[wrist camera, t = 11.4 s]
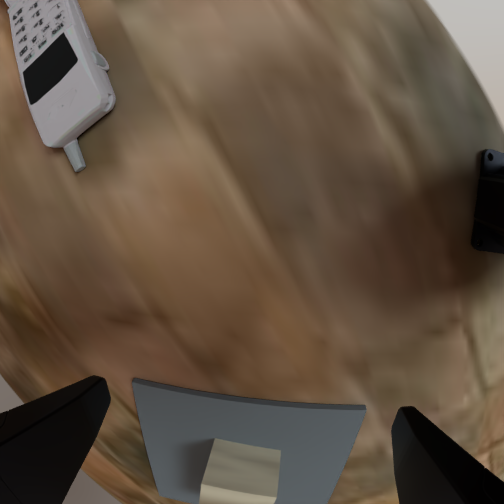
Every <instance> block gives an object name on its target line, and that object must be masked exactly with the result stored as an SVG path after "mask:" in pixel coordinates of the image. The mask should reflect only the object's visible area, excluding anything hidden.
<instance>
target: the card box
mask: <svg viewBox="0 0 504 504" xmlns="http://www.w3.org/2000/svg"><path fill="white" fill-rule="evenodd" d="M280 457H281V450H275V449H269V448H263V447H257V446H251V445H246V444H241V443H236V442H231V441H226V440H221V439H217V438H215V440H214V443H213V446H212V450H211V453H210V457H209V460H208V463H207V467H206V470H205V473H204V477H203V480H202V483H201V491H200V499H199V504H274V502H275V500H276V498H277V491H278V480H279V469H280Z"/></svg>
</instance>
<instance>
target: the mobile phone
mask: <svg viewBox="0 0 504 504" xmlns="http://www.w3.org/2000/svg"><path fill="white" fill-rule="evenodd" d="M4 1H5V2H6V4H7V5H8V6H9V5H10V6H9V9H8V13H9V17H10V24H11V32H12V39H13V45H14V51H15V55H16V60H17V64H18V69H19V73H20V81H21V84H22V87H23V91H24V94H25V97H26V101H27V104H28V107H29V110H30V112H31V115H32V117H33V120H34V122H35V125H36V127H37V129H38V132H39V134H40V136H41V139H42V141H43V143H44V144H45V145H46V146H49V147H53V148H59V147H63V148H64V151H65V152H66V154H67V156H68V158H69V160H70V162H71V164H72V166H73V168H74V170H75V172H79V171H81V170H83V169H84V168H85V167H86V165H85V162H84V159H83V156H82V154H81V151H80V148H79V145H78V140H77V137H78V136H79V135H80V134H82V133H83V132H84V131H85V130H86V129H88V128H89V127H90V126H91V125H93V124H94V123H95V122H96V121H98V120H99V119H100V118H101V117H103V116H104V115H105V114H107V113H108V112H109V111H111V110H112V109H113V108H114V105H115V102H116V97H115V94H114V92H113V89H112V86H111V84H110V81H109V78H108V75H107V73H106V71H108V70H109V65H108V63H107V61H106V59H105V58H104V57H103V56H102V55H101V54H99V53H98V51H97V48H96V46H95V43H94V41H93V38H92V36H91V33H90V31H89V28H88V26H87V23H86V21H85V18H84V16H83V13H82V11H81V8H80V6H79V4H78V1H77V0H4ZM7 2H8V3H7Z"/></svg>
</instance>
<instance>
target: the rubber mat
mask: <svg viewBox="0 0 504 504" xmlns="http://www.w3.org/2000/svg"><path fill="white" fill-rule="evenodd" d="M132 386H133V392H134V397H135V402H136V407H137V411H138V416H139V421H140V425H141V429H142V434H143V438H144V442H145V446H146V450H147V454H148V458H149V461H150V465H151V469H152V472H153V476H154V479H155V482H156V486H157V489H158V492H159V495H160V496H163V497H166V498H170V499H175V500H179V501H183V502H188V503H192V504H199V499H200V491H201V483H202V480H203V477H204V473H205V470H206V467H207V463H208V460H209V457H210V453H211V450H212V446H213V443H214V440H215V438H217V439H221V440H226V441H231V442H236V443H241V444H246V445H251V446H257V447H263V448H269V449H275V450H281V457H280V469H279V480H278V491H277V498H276V500H275V502H274V504H327V502H328V500H329V498H330V496H331V494H332V492H333V490H334V488H335V486H336V484H337V481H338V479H339V477H340V475H341V473H342V470H343V468H344V466H345V464H346V461H347V459H348V457H349V454H350V452H351V449H352V447H353V444H354V442H355V439H356V437H357V434H358V432H359V429H360V427H361V424H362V421H363V418H364V416H365V413H366V406H365V405H334V404H312V403H296V402H284V401H272V400H262V399H253V398H245V397H237V396H230V395H223V394H216V393H209V392H203V391H197V390H191V389H186V388H180V387H175V386H170V385H165V384H160V383H156V382H151V381H147V380H142V379H138V378H134V379H133V381H132Z"/></svg>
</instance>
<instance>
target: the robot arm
mask: <svg viewBox="0 0 504 504" xmlns="http://www.w3.org/2000/svg"><path fill="white" fill-rule="evenodd" d="M488 154H489V155H490V160H488ZM474 217H475V222H474V228H473V234H472V239H471V245H472V247H473V248H474V249H476V250H479V251H487V252H495V253H503V254H504V153H501V152H498V151H495V150H491V149H485V150H484V151H483V152H482V156H481V171H480V179H479V182H478V192H477V200H476V208H475V215H474ZM479 239H480V243H479V244H478V245H477V241H478V240H479ZM110 401H111V397H110V393H109V390H108V386H107V382H106V380H105V379H104V378H103V377H99V376H95V375H93V376H90V377H88V378H85V379H83V380H81V381H79V382H76V383H74V384H72V385H69V386H67V387H64V388H62V389H60V390H57V391H55V392H53V393H50V394H48V395H45V396H43V397H40V398H38V399H36V400H33V401H31V402H28V403H26V404H23V405H21V406H18V407H16V408H13V409H11V410H9V411H6V412H3V413H0V504H62V502H63V501H64V499H65V496H66V495H67V493H68V491H69V489H70V486H71V485H72V483H73V481H74V479H75V477H76V475H77V473H78V471H79V469H80V468H81V466H82V464H83V462H84V460H85V458H86V456H87V454H88V453H89V451H90V449H91V447H92V445H93V443H94V441H95V439H96V437H97V435H98V432H99V430H100V427H101V425H102V422H103V420H104V417H105V415H106V412H107V410H108V407H109V405H110ZM391 434H392V446H393V460H394V474H395V481H396V486H397V492H398V498H399V504H504V482H503V481H502V480H500V479H499V478H498V477H497V476H495V475H494V474H493V473H492V472H490V471H489V470H488V469H487V468H485V467H484V466H483V465H482V464H481V463H480V462H478V461H477V460H476V459H475V458H474V457H472V456H471V455H470V454H469V453H468V452H467V451H465V450H464V449H463V448H462V447H461V446H459V445H458V444H457V443H456V442H455V441H454V440H452V439H451V438H450V437H449V436H448V435H446V434H445V433H444V432H443V431H442V430H441V429H439V428H438V427H437V426H436V425H435V424H434V423H432V422H431V421H430V420H429V419H428V418H426V417H425V416H424V415H423V414H422V413H421V412H419V411H418V410H417V409H416V408H415V407H413V406H404V407H400V408H399V410H398V412H397V415H396V417H395V420H394V423H393V425H392V430H391ZM484 468H485V469H484Z"/></svg>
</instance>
